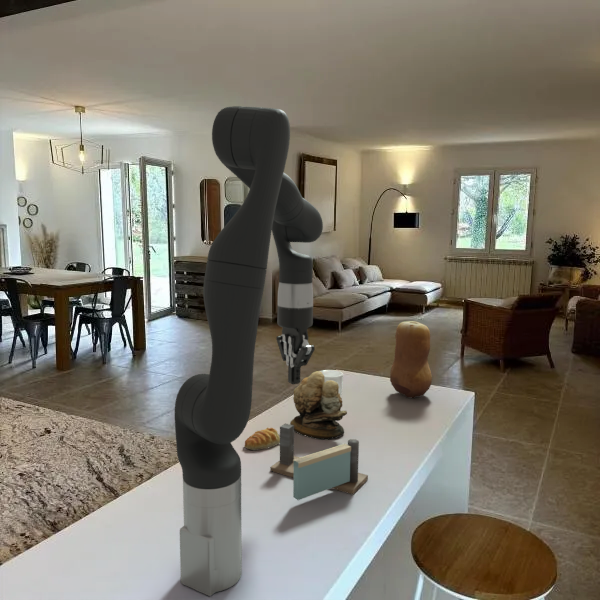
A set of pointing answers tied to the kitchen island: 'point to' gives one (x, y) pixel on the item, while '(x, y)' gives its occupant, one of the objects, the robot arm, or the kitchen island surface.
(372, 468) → the kitchen island surface
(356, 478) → the gate frame
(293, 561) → the kitchen island surface
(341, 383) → the white cup
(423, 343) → the butternut squash
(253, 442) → the pastry
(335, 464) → the gate panel
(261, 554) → the kitchen island surface
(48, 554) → the kitchen island surface
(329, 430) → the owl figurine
